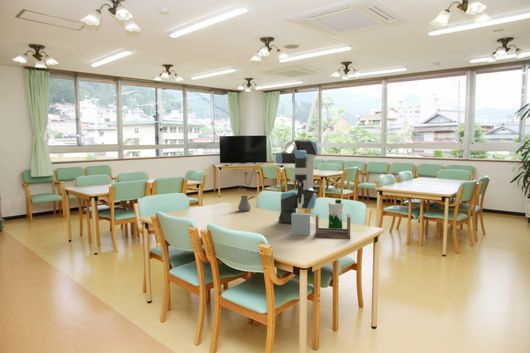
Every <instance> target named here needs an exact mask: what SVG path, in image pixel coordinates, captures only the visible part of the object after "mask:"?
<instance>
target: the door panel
mask: <svg viewBox="0 0 530 353" xmlns="http://www.w3.org/2000/svg"><path fill="white" fill-rule="evenodd" d="M291 223H292V224H291V235H292V236H310V235H311V213H300V212H298V213H297V212H296V213H292V214H291Z"/></svg>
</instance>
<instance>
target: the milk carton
mask: <svg viewBox="0 0 530 353" xmlns="http://www.w3.org/2000/svg"><path fill="white" fill-rule="evenodd" d="M343 207H344V203H343V202H342V199H335V200H334V201H331V202H328V228H338V229H343Z"/></svg>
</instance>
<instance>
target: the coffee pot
mask: <svg viewBox="0 0 530 353" xmlns="http://www.w3.org/2000/svg"><path fill="white" fill-rule="evenodd" d="M240 198H241V199H240V201H239V204H238V207H237V209H238V210H239V212H244V213H245V212H249V211H251V208H252V206H251V203H250V202H249V200H250V199H254V198H256V196H253V195H252V196H251V197H249V198H248V195H241V196H240Z"/></svg>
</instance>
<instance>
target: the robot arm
mask: <svg viewBox="0 0 530 353" xmlns="http://www.w3.org/2000/svg"><path fill="white" fill-rule="evenodd" d="M318 155H319V148H318V143H317V140H315V139H295V140H291V141H289V142H287V143H286V144H285V146H284V149H283V150H282V151H281V152H276V153H275V155H274V156H275V157H274V158H275V163H276V164H280V165H284V164H285V165H286V164H289V165H290V164H291V165H292V164H293V165H294V168H293V171H294V173H295V175H294V180H295V181H298V182H297V191H296V190H288V191H282V192H281V194H280V213H279V216H278V222H279V223H281V224H284V225H285V224H287V225H292V223H291V214H292V213H297V209H301V210H302V209H303V210H306V209H307V210H312V209H314V208H315V207H316V203H317V193H315V190H314V164H315V163H314V162H315V158H316V157H317V156H318Z"/></svg>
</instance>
